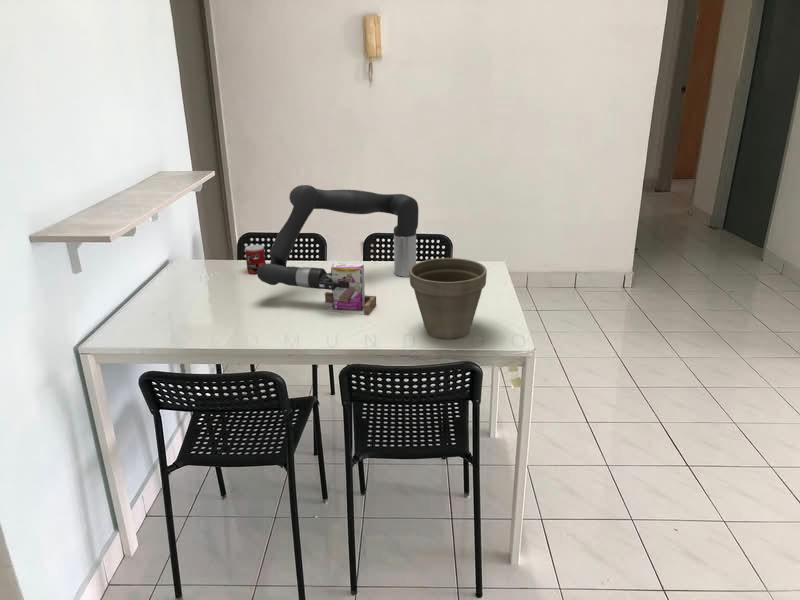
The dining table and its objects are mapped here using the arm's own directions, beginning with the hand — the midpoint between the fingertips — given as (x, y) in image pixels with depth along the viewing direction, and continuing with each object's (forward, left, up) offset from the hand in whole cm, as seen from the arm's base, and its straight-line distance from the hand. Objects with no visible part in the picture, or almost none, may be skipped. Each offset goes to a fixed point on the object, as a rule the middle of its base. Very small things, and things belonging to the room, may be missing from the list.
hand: (353, 281), depth 215 cm
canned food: (-30, -55, -11) cm, 64 cm away
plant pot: (+10, +36, -11) cm, 39 cm away
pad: (0, -2, -11) cm, 11 cm away
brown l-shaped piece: (-1, -3, -11) cm, 11 cm away
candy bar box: (0, -2, -11) cm, 11 cm away
